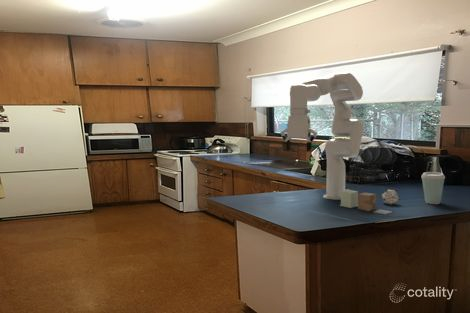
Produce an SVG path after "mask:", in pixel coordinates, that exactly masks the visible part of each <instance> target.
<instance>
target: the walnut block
mask: <svg viewBox="0 0 470 313" xmlns="http://www.w3.org/2000/svg"><path fill="white" fill-rule="evenodd" d="M376 202H377V195H376V193H371V192H360V193H358V206H357V209H358V210H362V211H367V212H370V211H376V206H377V204H376Z"/></svg>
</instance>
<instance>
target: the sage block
mask: <svg viewBox="0 0 470 313" xmlns="http://www.w3.org/2000/svg"><path fill="white" fill-rule="evenodd" d="M358 194H359V191H358V190H354V189H353V190H352V189H348V190H347V189H346V190H344V191H341V199H340V205H341V206H340V207H344V206H346V207H345V208H349V207H353V208H356V207H355V206H357V207H358Z"/></svg>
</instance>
